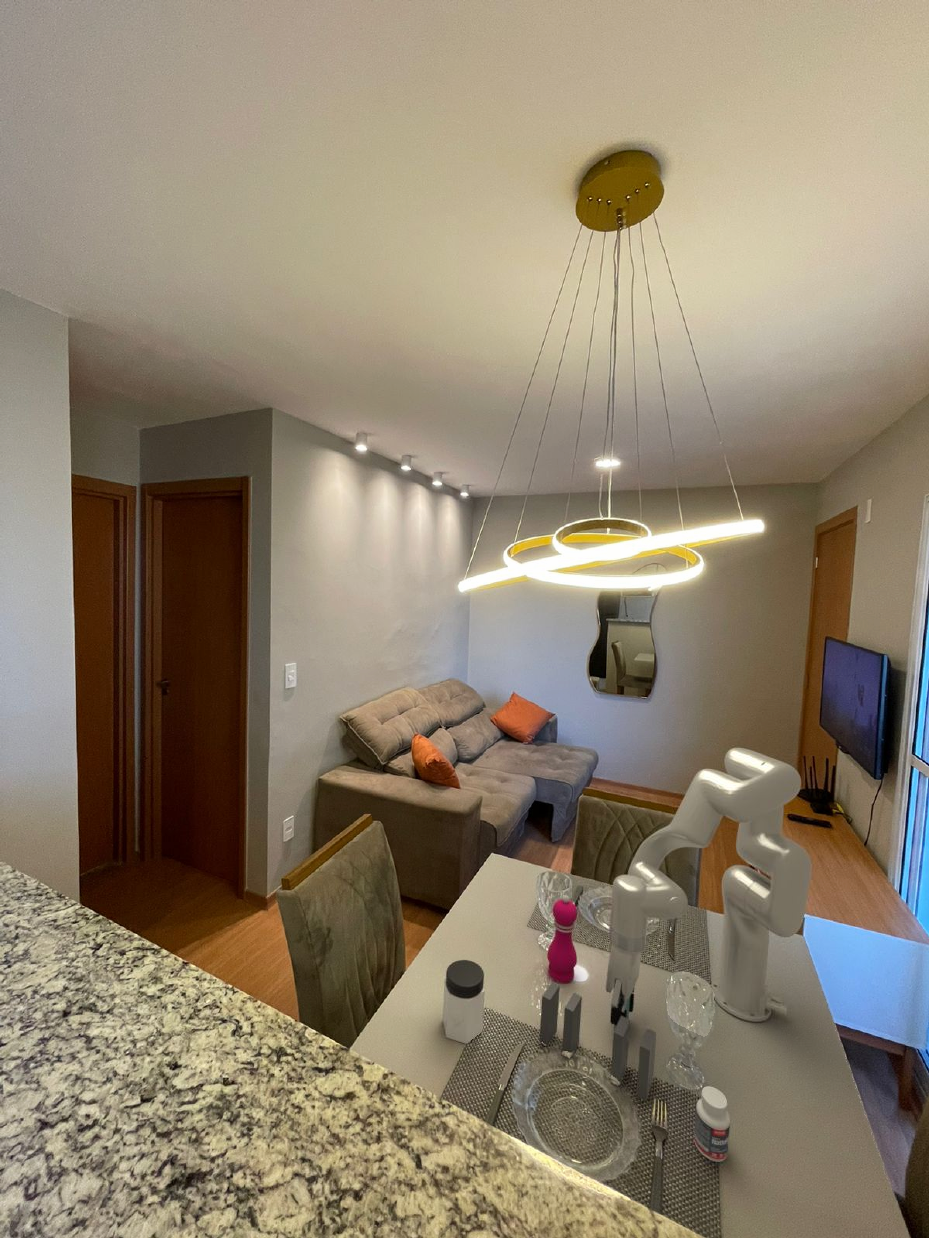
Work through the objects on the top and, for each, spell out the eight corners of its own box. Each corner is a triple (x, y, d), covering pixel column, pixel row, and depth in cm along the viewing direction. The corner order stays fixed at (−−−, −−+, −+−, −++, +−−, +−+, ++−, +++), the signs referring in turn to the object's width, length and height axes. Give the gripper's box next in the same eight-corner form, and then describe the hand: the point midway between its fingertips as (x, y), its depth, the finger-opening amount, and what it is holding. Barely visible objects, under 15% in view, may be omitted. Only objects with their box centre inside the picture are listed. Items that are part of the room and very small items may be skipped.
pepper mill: (575, 987, 124) (581, 906, 123) (545, 981, 125) (550, 901, 125) (575, 966, 131) (580, 889, 130) (546, 961, 132) (551, 885, 132)
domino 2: (578, 1042, 108) (581, 996, 108) (570, 1059, 104) (573, 1011, 104) (570, 1038, 109) (573, 992, 109) (561, 1054, 105) (564, 1007, 105)
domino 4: (626, 1068, 103) (630, 1019, 103) (619, 1087, 99) (623, 1036, 98) (617, 1063, 104) (621, 1015, 104) (610, 1082, 100) (613, 1032, 99)
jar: (435, 1035, 108) (438, 980, 108) (448, 1006, 116) (451, 954, 115) (476, 1048, 105) (480, 992, 105) (487, 1018, 113) (490, 965, 113)
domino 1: (556, 1030, 111) (559, 985, 111) (547, 1046, 107) (550, 999, 107) (549, 1026, 112) (551, 981, 112) (539, 1042, 108) (542, 995, 108)
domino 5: (652, 1082, 100) (656, 1032, 100) (646, 1102, 96) (650, 1050, 96) (643, 1077, 101) (646, 1027, 101) (636, 1096, 97) (640, 1045, 97)
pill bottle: (712, 1168, 85) (715, 1116, 85) (686, 1137, 90) (690, 1088, 90) (734, 1155, 87) (738, 1105, 87) (708, 1126, 92) (712, 1078, 92)
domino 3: (628, 1021, 115) (631, 977, 114) (621, 1036, 110) (625, 991, 110) (620, 1017, 116) (623, 974, 115) (613, 1032, 111) (616, 987, 111)
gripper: (621, 910, 121) (616, 985, 122) (597, 949, 107) (592, 1034, 108) (654, 923, 117) (649, 1000, 118) (634, 965, 103) (628, 1053, 104)
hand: (621, 1016), depth 113 cm, fingers closed on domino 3, 4 cm apart
